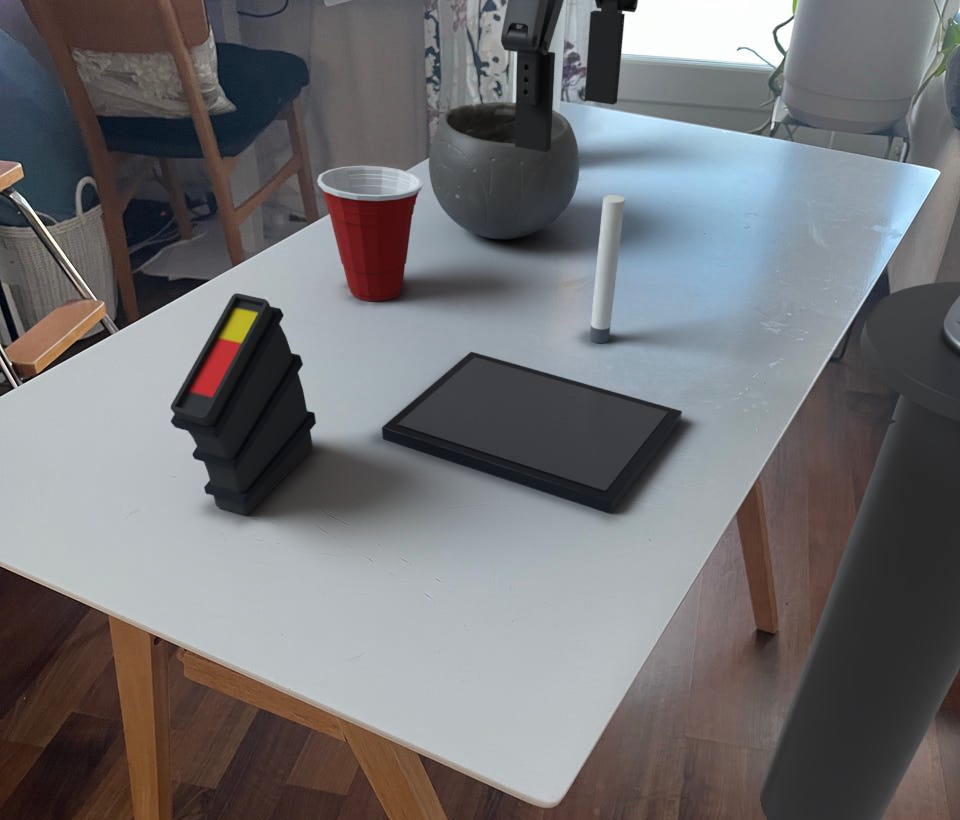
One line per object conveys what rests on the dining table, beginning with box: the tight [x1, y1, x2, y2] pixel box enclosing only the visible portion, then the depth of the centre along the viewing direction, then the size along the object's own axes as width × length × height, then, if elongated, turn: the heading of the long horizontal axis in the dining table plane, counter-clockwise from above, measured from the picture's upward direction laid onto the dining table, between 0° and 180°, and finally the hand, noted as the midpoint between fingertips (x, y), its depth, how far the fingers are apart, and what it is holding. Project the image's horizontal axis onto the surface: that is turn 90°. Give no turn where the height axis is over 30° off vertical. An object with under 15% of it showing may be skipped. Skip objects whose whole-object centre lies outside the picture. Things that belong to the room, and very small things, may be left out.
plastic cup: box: [317, 165, 424, 302], centre depth 103 cm, size 11×11×12 cm
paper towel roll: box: [512, 0, 568, 114], centre depth 130 cm, size 7×6×21 cm
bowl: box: [428, 101, 580, 240], centre depth 115 cm, size 18×18×13 cm
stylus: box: [589, 194, 626, 344], centre depth 95 cm, size 2×2×14 cm
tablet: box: [381, 351, 683, 514], centre depth 86 cm, size 22×16×1 cm
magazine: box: [170, 292, 317, 516], centre depth 77 cm, size 4×13×15 cm, turn 157°
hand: (568, 124), depth 79 cm, fingers open, 13 cm apart
